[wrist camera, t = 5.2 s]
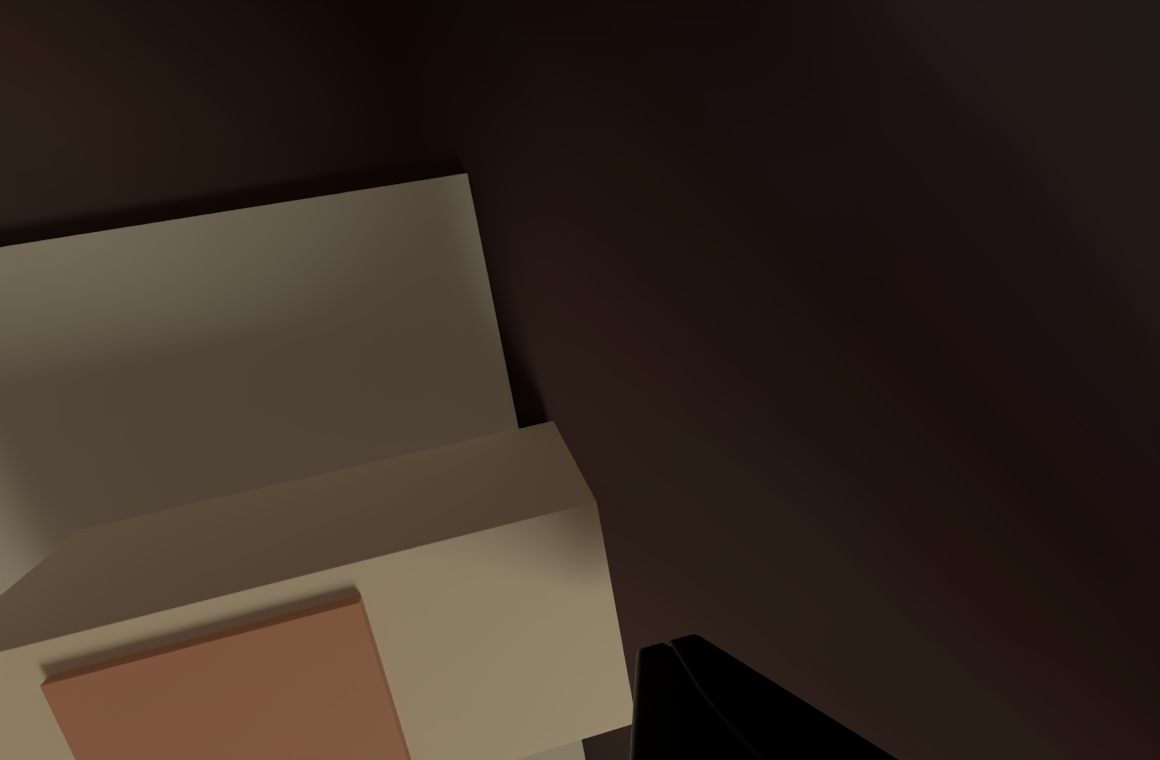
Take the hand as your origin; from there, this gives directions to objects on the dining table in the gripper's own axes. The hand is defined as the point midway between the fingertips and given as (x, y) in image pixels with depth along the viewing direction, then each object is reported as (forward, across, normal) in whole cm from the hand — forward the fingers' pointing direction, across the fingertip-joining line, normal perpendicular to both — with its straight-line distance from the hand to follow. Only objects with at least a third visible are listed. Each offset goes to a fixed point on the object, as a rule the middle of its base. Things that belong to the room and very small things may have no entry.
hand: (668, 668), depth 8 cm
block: (+3, 0, 0) cm, 3 cm away
